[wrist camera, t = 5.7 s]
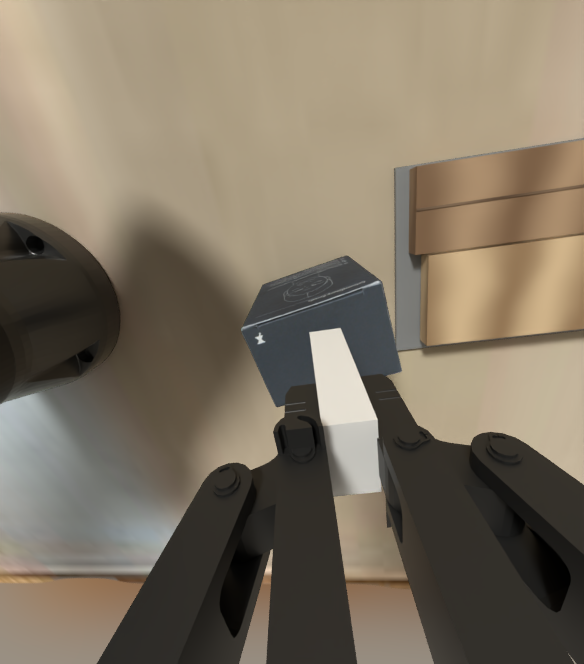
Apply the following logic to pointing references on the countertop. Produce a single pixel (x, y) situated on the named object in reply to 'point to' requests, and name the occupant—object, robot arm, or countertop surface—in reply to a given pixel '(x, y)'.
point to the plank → (502, 290)
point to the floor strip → (497, 198)
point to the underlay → (417, 266)
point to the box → (319, 324)
